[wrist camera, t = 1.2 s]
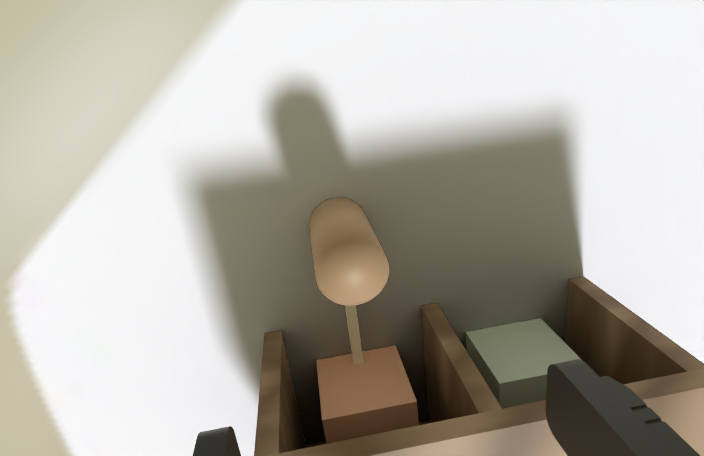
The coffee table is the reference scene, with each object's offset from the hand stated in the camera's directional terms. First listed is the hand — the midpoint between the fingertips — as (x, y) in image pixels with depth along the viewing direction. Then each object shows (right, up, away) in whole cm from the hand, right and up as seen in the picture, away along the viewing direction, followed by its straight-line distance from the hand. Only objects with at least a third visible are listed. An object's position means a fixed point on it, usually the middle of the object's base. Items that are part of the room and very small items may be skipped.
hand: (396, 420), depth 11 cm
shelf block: (+9, -4, +18) cm, 21 cm away
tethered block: (-1, -1, +16) cm, 16 cm away
